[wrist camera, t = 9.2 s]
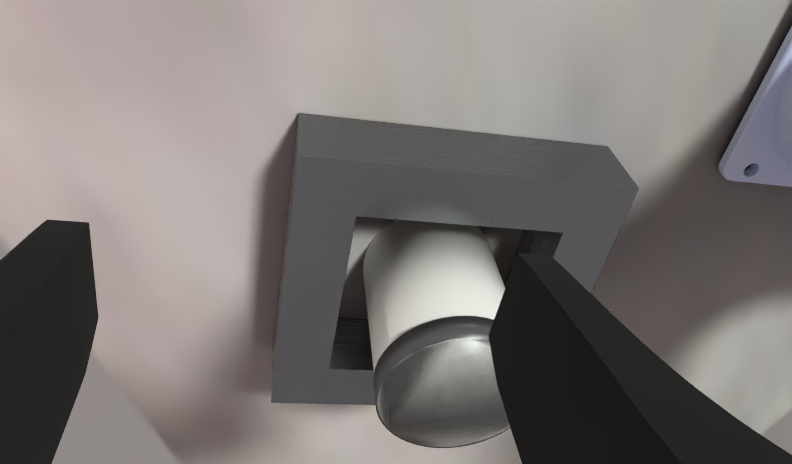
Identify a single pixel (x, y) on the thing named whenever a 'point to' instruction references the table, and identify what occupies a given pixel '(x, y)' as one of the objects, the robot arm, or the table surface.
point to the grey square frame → (428, 202)
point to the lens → (434, 332)
